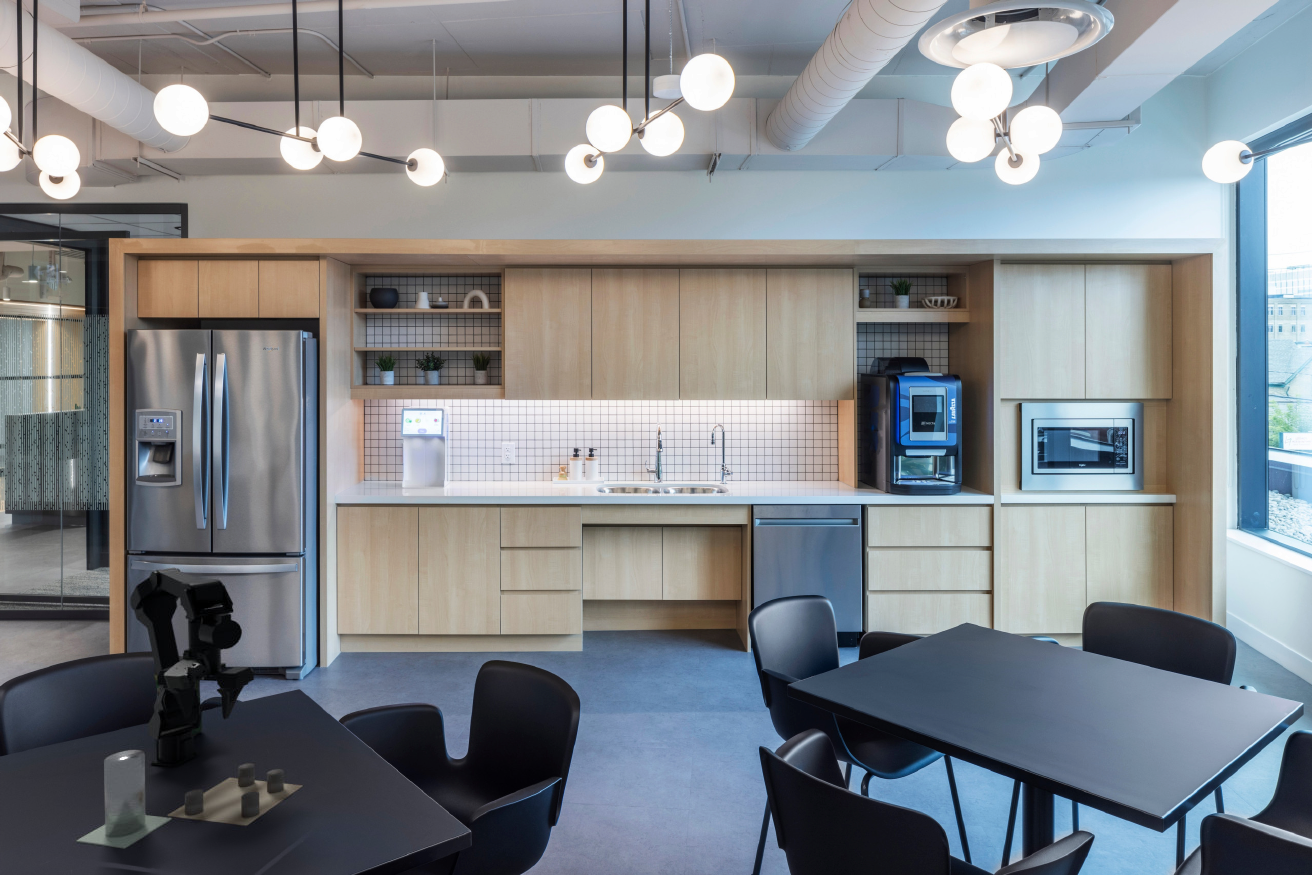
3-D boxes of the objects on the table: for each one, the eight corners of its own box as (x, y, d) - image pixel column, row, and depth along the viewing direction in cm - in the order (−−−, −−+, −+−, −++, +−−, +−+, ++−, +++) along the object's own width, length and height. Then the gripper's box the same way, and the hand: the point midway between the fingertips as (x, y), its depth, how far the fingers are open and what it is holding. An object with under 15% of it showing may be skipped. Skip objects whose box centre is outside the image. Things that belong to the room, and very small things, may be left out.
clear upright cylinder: (99, 830, 140) (98, 758, 139) (137, 816, 145) (136, 746, 144) (113, 841, 136) (112, 767, 136) (151, 826, 141) (150, 755, 141)
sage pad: (76, 844, 137) (76, 840, 136) (125, 816, 146) (125, 812, 146) (124, 851, 135) (124, 846, 134) (171, 822, 144) (171, 818, 144)
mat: (166, 818, 146) (166, 796, 146) (229, 780, 161) (229, 760, 161) (246, 828, 142) (246, 806, 142) (303, 788, 158) (303, 768, 158)
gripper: (133, 651, 156) (135, 729, 156) (214, 654, 152) (216, 734, 152) (178, 636, 166) (180, 710, 166) (254, 639, 163) (256, 714, 163)
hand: (206, 717), depth 162 cm, fingers open, 9 cm apart
